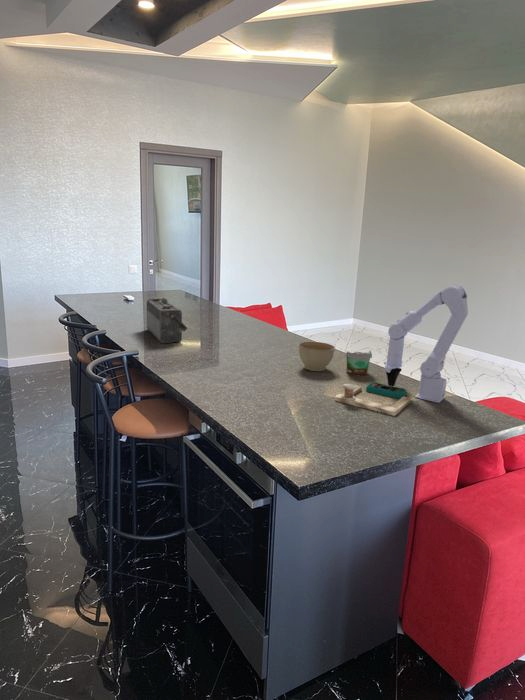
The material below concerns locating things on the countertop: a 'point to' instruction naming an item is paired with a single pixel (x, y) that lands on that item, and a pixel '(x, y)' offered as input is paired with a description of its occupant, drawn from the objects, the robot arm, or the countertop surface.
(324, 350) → the planter bowl
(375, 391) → the digital multimeter
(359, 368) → the food container
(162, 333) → the radio
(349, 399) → the notched board
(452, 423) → the countertop surface
